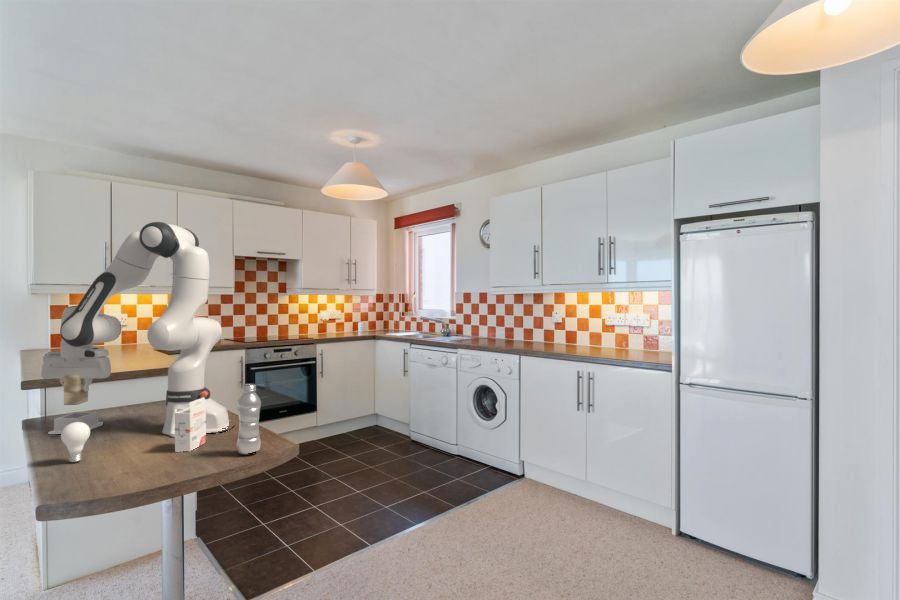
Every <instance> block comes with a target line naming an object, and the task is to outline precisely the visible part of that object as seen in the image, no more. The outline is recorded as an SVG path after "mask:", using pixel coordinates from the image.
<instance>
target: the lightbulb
mask: <svg viewBox="0 0 900 600" xmlns="http://www.w3.org/2000/svg"><path fill="white" fill-rule="evenodd" d="M90 436H91V430H90V428H89V426H88V425H87V424H85V423H83V422H73V423H70V424H68V425H67V426H66V427H65V428H64V429H63V430H62V432H61V435H60V440H61V441H62V443H63V444H64V445H65V446H66V447H67V452H68V454H69V458H68V461H69V462H70V463H73V464H75V463H78V462H80V461H81V460H82V459H83V457H82V455H83V450H84V447H85V446H84V445H85V444H86V442H87V441H88V440H89V438H90Z"/></svg>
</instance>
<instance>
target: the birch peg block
mask: <svg viewBox="0 0 900 600" xmlns="http://www.w3.org/2000/svg"><path fill="white" fill-rule="evenodd" d="M85 383H86V382H85V381H84V379H80V378H79V375H66V376H64V387H63V406H78V405H81V404H84V403H87V402H89V390H88V391H86V392H81V387H82V386H84V385H85Z"/></svg>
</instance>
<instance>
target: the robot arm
mask: <svg viewBox="0 0 900 600" xmlns="http://www.w3.org/2000/svg"><path fill="white" fill-rule="evenodd" d="M159 257H162V258H164V259H171V261H172V263H173V275H172V283H171V284H172V285H171V293H170V298H169V301H168V303H167V306H166V308H165V310H164V311H163V312H162V314H161V315H160V316H159V318H157V319H156V320H155V321H154V322H152V323H151V324H150V326H149V327H148V329H147V332H146V333H147V335H146V337H147V340H148V341H147V342H148V343H149V345H151V347H152V348H153V349H156V350H161V351H180V354H179V355H178V357H177V359H176V360H174V361H173V362H172V363H171V364H170V365H169V367H168V369H167V390H166V393H165V403H166V404H165V405H166V415H165V421H164V424H163V428H162V430H161V433H162V434H163V435H166V436H170V437H172V438H175V413H176V412H179V411H181V410H184V409H187V408H189V403H190V402H192V401H195V400H198V399H201V398H203V397H204V398H205V405H206V433H211V432H218V431H222V430H225V429H222V428H226V429H227V428H228V427H227V426H229V421H230V417H229V414H228V413H229V412H228V410H227V408H226V407H225V406H224V405H222V404H221V403H219V402H217V401H216V400H215V399H212V398H211V393H212V390H213V389H211V388H210V389H208V388H207V387H206V386H205V380H206V379H205V375H206V364H207V361H208V357H209V356H210V354H211V351H212V349H213V347H214V346H215V345H216V344H217V343H219V342H220V340H221V338H222V336H223V335H222V334H223V333H222V332H223V330H222V327H221V324H220V322H218V321H217V320H216V319H213V318H209V317H204V316H202V317H201V316H200V317H199V316H198V317H197V316H195V315H196V314H197V312H198V310H199V309H200V308H201V307H203V306H204V305H205V304H206V303H207V302H208V299H209V289H210V277H211V276H210V275H211V269H210V268H211V267H210V257H209V253H208V251H207V250H205V249H204V248H202V247H200V241H199V238H198V237H197V234H195V233H194V231H192V230H190V229H188V228H185V227H181V226H179V225H176V224H173V223H165V222H162V221H154V222H153V221H152V222H149V223H147V224H145V225H143V227H142V228H141V229H140V231H133V232H131V233H130V234H129V235H128V236H127V237H125V239H124V241H123V242H122V243H121V245H120V247H119V249H118V250H117V251H116V254H115V256H114V257H113V260H112V261H111V263H110V264H109V266H108V267H107V268H106V269H105V270H104V271H103V272H102V273H100V274H99V275H98V276H97V277H96V278H95V279H94V281H93V282H91V283H92V284H91V285H90V286H89V288H88V289H87V290H86V292H85V293H84V294H83V297H82V298H81V299H80V301H79V302H78V304H77V305H73V306H67V307H66V308H64V310H63V312H62V315H61V320H60V321H61V322H60V331H59V333H60V336H61V341H60V347H59V348H60V351H48V352H47V353H45V354H44V355H43V357H42V362H43V363H42V367H41V372H40V373H41V374H40V376H41V378H42V379H44V380H59V383H60V385H61V386H62V387H63V388H64V376H66V375H79V378H80V379H84V381H85V382H86V383H85V385H84V386H82V387H81V392H86V391H88V392H89V390H90V389H89V388H90V386H91V384H92V382H93V381H94V380H93V379H106V378H109V376H111V374H112V373H111V372H112V366H111V360H110V358H109V357H108V356H109V355H110V354H109V353H110V352H109V350H108V349H106V348H102V347H99V346H96V345H94V344H102V343H103V344H104V343H110V342H114V341H115V340H117V339H118V338H119V337H120V335H121V333H122V324H121V322H120V320H119V319H118V318H117V317H115V316H113V315H109V314H105V313H102V312H101V311H102V309H103V308H104V306H105V305H106V303H107V302H108V300H110V298H111V297H113V296H115V295H116V294H118V293H120V292H122V291H126V290H129V289H132V288H135V287H138V286H140V285H142V283H144V282H145V280H146V279H147V278H148V276H149V274H150V273H151V270H152V268H153V266H154V264H155V262H156V260H157V259H158V258H159ZM198 405H200V403H198V402H197V404H195V406H198Z"/></svg>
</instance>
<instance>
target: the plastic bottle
mask: <svg viewBox="0 0 900 600" xmlns="http://www.w3.org/2000/svg"><path fill="white" fill-rule="evenodd" d="M241 387H242V390H241V392H242V394H241V395H240V397H239V399H238V400H237V402H236V406H237V413H238V422H239V423H238V426H239V427H238V434H237V435H238V436H237V437H238V438H237V441H236V450H237V452H238V453H239V454H240V455H249V454H248V453H252V452H255V451H258V450H259V451H260V449H261V443H262V442H261V436H260V427H259V423H260V421H259V420H260V413H261V405H262V401H261V399H260V397H259V395H258V394H257V392H256V391H257V385H256V384H255V383H245V384H242V386H241ZM259 451H258V452H259Z"/></svg>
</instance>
